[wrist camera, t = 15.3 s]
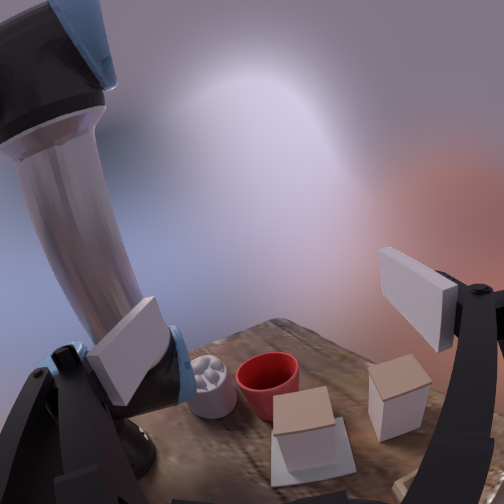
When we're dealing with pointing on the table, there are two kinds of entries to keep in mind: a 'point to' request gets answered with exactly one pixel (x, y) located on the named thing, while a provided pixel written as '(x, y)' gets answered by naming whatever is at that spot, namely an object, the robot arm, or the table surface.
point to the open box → (402, 487)
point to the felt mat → (341, 467)
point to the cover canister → (305, 428)
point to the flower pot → (267, 380)
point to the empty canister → (397, 396)
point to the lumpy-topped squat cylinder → (212, 388)
